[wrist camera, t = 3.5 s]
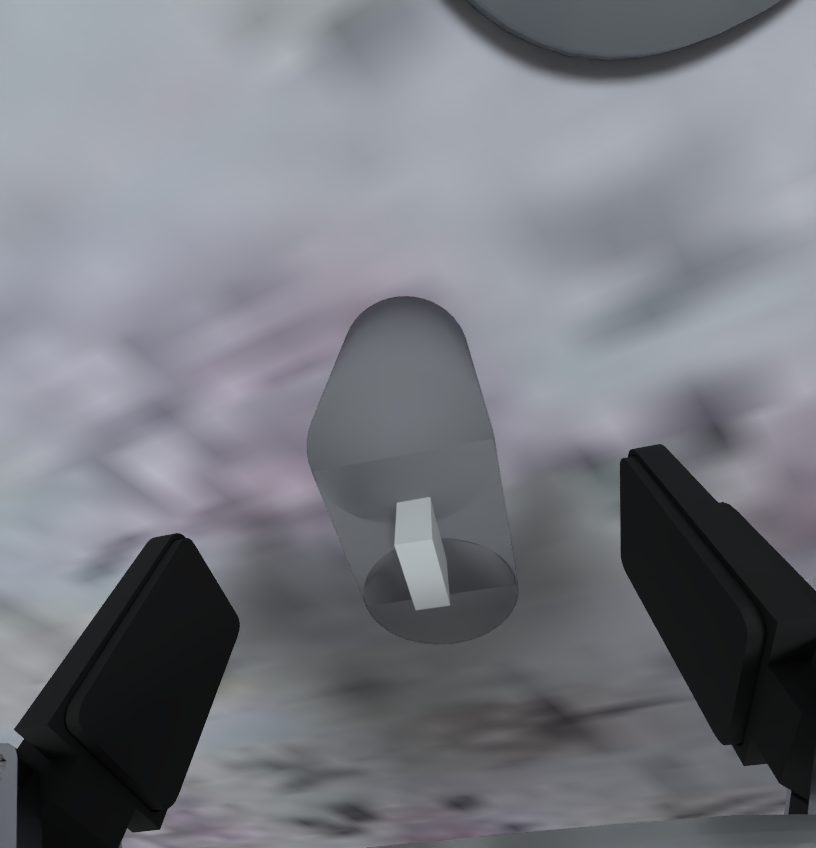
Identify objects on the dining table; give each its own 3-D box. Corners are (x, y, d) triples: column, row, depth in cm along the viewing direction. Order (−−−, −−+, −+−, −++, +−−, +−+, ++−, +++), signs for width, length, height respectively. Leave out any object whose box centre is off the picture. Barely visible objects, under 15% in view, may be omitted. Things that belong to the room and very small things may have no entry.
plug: (326, 312, 12) (258, 424, 7) (456, 282, 12) (490, 377, 7) (393, 520, 16) (382, 699, 11) (494, 503, 16) (537, 681, 10)
